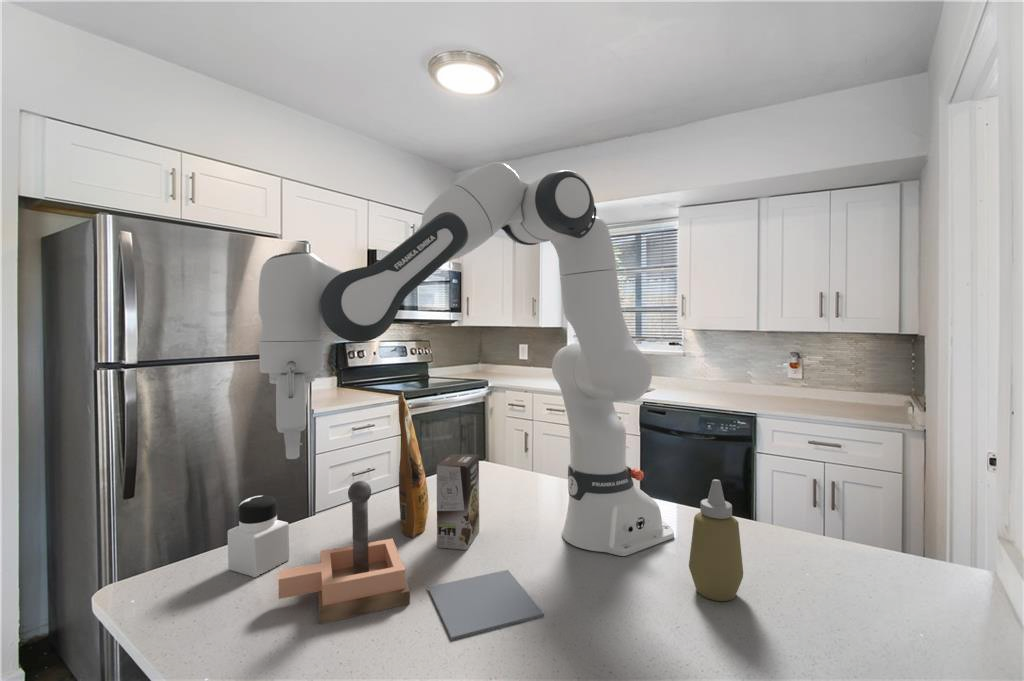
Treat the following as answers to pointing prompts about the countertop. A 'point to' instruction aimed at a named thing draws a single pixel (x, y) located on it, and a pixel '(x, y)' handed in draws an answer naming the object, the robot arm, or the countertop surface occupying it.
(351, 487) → the stand
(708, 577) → the squeeze bottle
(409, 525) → the pancake mix bag
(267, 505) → the medicine bottle
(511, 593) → the mat
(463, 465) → the coffee box
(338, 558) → the frame
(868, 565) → the countertop surface
